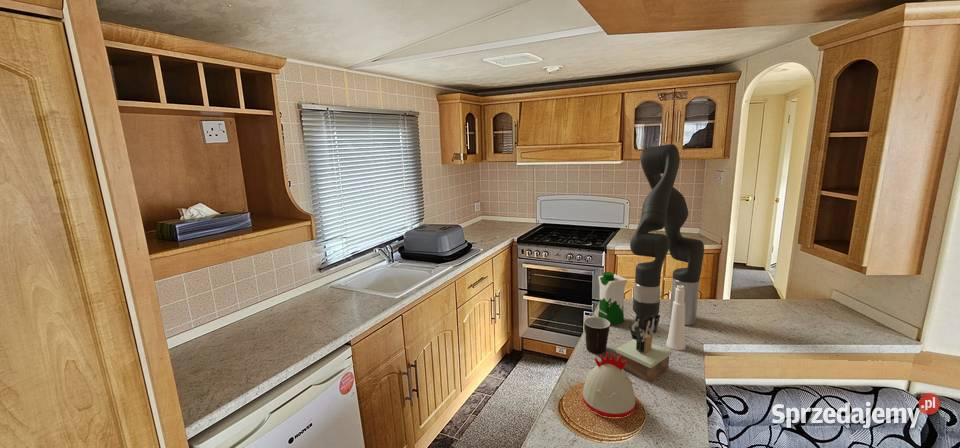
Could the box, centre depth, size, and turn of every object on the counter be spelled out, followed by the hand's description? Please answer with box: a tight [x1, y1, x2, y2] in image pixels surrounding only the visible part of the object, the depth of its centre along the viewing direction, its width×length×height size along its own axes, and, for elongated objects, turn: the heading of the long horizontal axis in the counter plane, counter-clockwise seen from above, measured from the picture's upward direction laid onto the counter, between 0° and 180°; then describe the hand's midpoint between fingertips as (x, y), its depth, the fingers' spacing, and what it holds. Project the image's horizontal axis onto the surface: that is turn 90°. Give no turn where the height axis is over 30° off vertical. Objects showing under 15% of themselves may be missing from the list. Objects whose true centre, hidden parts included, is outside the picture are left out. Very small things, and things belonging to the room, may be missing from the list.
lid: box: [615, 333, 672, 368], centre depth 122 cm, size 12×12×6 cm
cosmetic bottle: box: [665, 285, 687, 351], centre depth 134 cm, size 6×6×22 cm
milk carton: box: [597, 271, 628, 326], centre depth 155 cm, size 9×9×20 cm
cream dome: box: [581, 350, 636, 417], centre depth 107 cm, size 14×14×15 cm
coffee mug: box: [583, 316, 611, 355], centre depth 134 cm, size 12×9×10 cm
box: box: [616, 352, 670, 384], centre depth 124 cm, size 11×11×5 cm
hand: (643, 348), depth 123 cm, fingers closed on lid, 3 cm apart
